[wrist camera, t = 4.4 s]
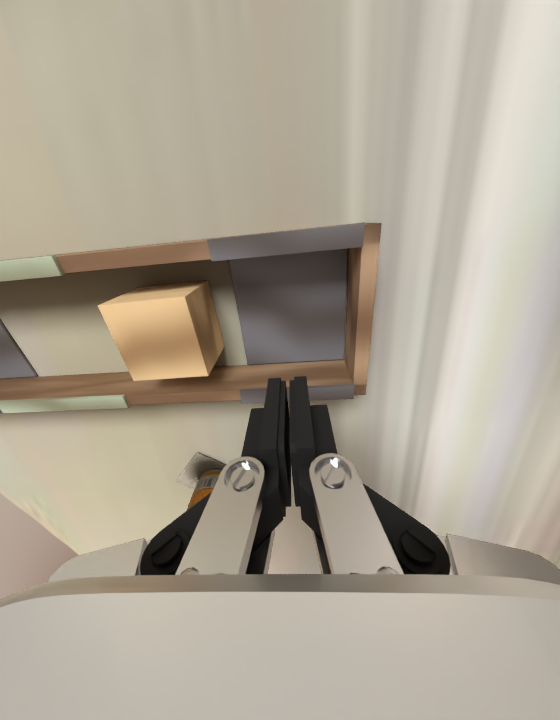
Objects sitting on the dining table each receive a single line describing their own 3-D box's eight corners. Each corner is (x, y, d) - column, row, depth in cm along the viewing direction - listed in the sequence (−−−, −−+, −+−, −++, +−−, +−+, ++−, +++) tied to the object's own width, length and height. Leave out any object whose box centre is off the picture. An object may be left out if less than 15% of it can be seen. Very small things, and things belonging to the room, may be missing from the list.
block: (138, 287, 21) (97, 305, 16) (208, 280, 20) (184, 296, 16) (163, 351, 24) (133, 381, 19) (224, 346, 23) (208, 375, 19)
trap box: (-180, 278, 21) (-280, 290, 18) (364, 221, 17) (383, 221, 14) (-70, 391, 27) (-128, 418, 24) (354, 369, 23) (366, 398, 20)
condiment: (232, 503, 35) (205, 623, 25) (176, 480, 33) (121, 599, 23) (257, 477, 32) (240, 601, 22) (197, 450, 30) (146, 572, 20)
